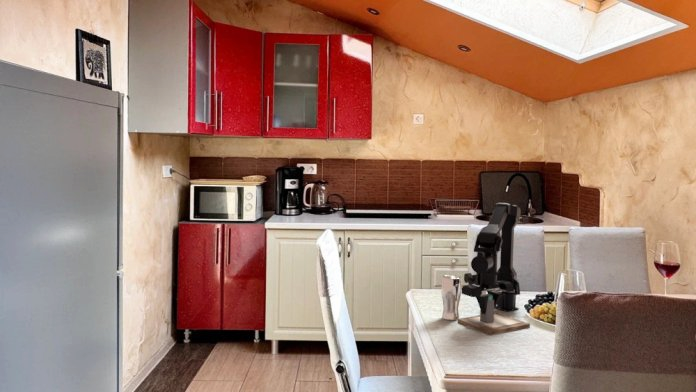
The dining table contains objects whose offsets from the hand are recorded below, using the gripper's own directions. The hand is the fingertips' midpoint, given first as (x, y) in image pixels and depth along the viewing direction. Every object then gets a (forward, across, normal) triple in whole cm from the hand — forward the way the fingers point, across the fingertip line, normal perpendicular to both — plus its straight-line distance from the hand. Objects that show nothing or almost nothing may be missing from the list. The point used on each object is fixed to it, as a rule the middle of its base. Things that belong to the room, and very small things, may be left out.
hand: (487, 313), depth 196 cm
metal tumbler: (+5, +5, -13) cm, 15 cm away
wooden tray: (+4, -3, 0) cm, 5 cm away
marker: (+3, 0, 0) cm, 3 cm away
